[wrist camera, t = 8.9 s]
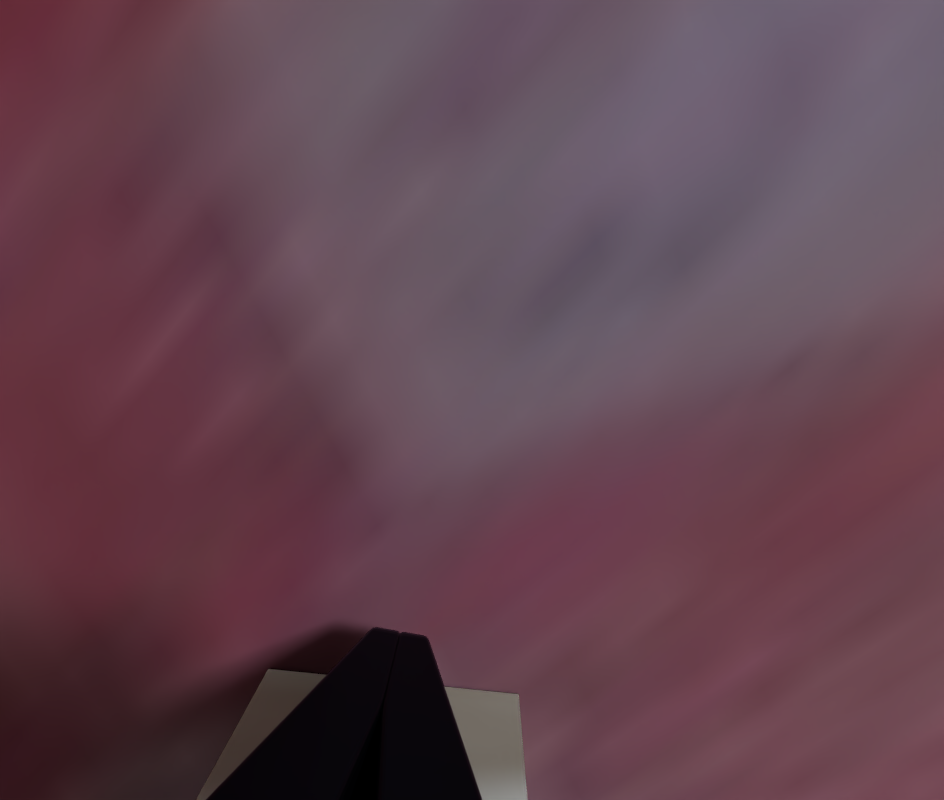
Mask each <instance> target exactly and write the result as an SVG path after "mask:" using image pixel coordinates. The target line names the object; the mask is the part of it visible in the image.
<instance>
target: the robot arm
mask: <svg viewBox="0 0 944 800" xmlns="http://www.w3.org/2000/svg"><path fill="white" fill-rule="evenodd" d="M206 800H482V797H481V794H480V791H479V788H478V785H477V782H476V779H475V776H474V773H473V770H472V767H471V764H470V761H469V758H468V755H467V752H466V749H465V746H464V743H463V740H462V737H461V734H460V731H459V728H458V725H457V722H456V719H455V716H454V714H453V711H452V708H451V705H450V702H449V699H448V696H447V693H446V690H445V687H444V684H443V681H442V678H441V675H440V672H439V669H438V666H437V663H436V660H435V657H434V654H433V651H432V648H431V645H430V642H429V640H428V638H427V637H426V636H424V635H418V634H412V633H407V632H402V633H399V632H398V631H395V630H390V629H384V628H378V627H375V628H372V629H371V630H370V631H369V632H368V633H367V634H366V635H365V636H364V637H363V638H362V639H361V640H360V641H359V642H358V643H357V644H356V645H355V646H354V647H353V648H352V649H351V650H350V651H349V652H348V653H347V654H346V655H345V656H344V657H343V658H342V659H341V660H340V662H339V663H338V664H337V665H336V666H335V667H334V668H333V669H332V670H331V671H330V672H329V673H328V674H327V675H326V676H325V677H324V678H323V679H322V680H321V681H320V682H319V683H318V684H317V685H316V686H315V687H314V688H313V689H312V690H311V691H310V692H309V693H308V695H307V696H306V697H305V698H304V699H303V700H302V701H301V702H300V703H299V704H298V705H297V706H296V707H295V708H294V709H293V710H292V711H291V712H290V713H289V714H288V715H287V716H286V717H285V718H284V719H283V720H282V721H281V722H280V723H279V724H278V725H277V727H276V728H275V729H274V730H273V731H272V732H271V733H270V734H269V735H268V736H267V737H266V738H265V739H264V740H263V741H262V742H261V743H260V744H259V745H258V746H257V747H256V748H255V749H254V750H253V751H252V752H251V753H250V754H249V755H248V756H247V757H246V758H245V760H244V761H243V762H242V763H241V764H240V765H239V766H238V767H237V768H236V769H235V770H234V771H233V772H232V773H231V774H230V775H229V776H228V777H227V778H226V779H225V780H224V781H223V782H222V783H221V784H220V785H219V786H218V787H217V788H216V789H215V790H214V792H213V793H212V794H211V795H210V796H209V797H208V798H207V799H206Z"/></svg>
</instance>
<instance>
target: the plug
mask: <svg viewBox="0 0 944 800" xmlns="http://www.w3.org/2000/svg"><path fill="white" fill-rule="evenodd" d="M325 676H326V675H324V674H314V673H304V672H294V671H284V670H274V669H268V670H267V672H266V674H265V676H264V677H263V679H262V681H261V683H260V685H259V686H258V688H257V690H256V692H255V694H254V695H253V697H252V699H251V701H250V703H249V705H248V706H247V708H246V710H245V712H244V714H243V715H242V717H241V719H240V721H239V723H238V724H237V726H236V728H235V730H234V732H233V734H232V735H231V737H230V739H229V741H228V743H227V744H226V746H225V748H224V750H223V752H222V753H221V755H220V757H219V759H218V761H217V762H216V764H215V766H214V768H213V770H212V772H211V773H210V775H209V777H208V779H207V781H206V782H205V784H204V786H203V788H202V790H201V791H200V793H199V795H198V797H197V799H196V800H206V799H207V798H208V797H209V796H210V795H211V794H212V793H213V792H214V790H215V789H216V788H217V787H218V786H219V785H220V784H221V783H222V782H223V781H224V780H225V779H226V778H227V777H228V776H229V775H230V774H231V773H232V772H233V771H234V770H235V769H236V768H237V767H238V766H239V765H240V764H241V763H242V762H243V761H244V760H245V758H246V757H247V756H248V755H249V754H250V753H251V752H252V751H253V750H254V749H255V748H256V747H257V746H258V745H259V744H260V743H261V742H262V741H263V740H264V739H265V738H266V737H267V736H268V735H269V734H270V733H271V732H272V731H273V730H274V729H275V728H276V727H277V725H278V724H279V723H280V722H281V721H282V720H283V719H284V718H285V717H286V716H287V715H288V714H289V713H290V712H291V711H292V710H293V709H294V708H295V707H296V706H297V705H298V704H299V703H300V702H301V701H302V700H303V699H304V698H305V697H306V696H307V695H308V693H309V692H310V691H311V690H312V689H313V688H314V687H315V686H316V685H317V684H318V683H319V682H320V681H321V680H322V679H323V678H324V677H325ZM445 690H446V693H447V696H448V699H449V702H450V705H451V708H452V711H453V714H454V716H455V719H456V722H457V725H458V728H459V731H460V734H461V737H462V740H463V743H464V746H465V749H466V752H467V755H468V758H469V761H470V764H471V767H472V770H473V773H474V776H475V779H476V782H477V785H478V788H479V791H480V794H481V797H482V800H527V789H526V777H525V765H524V753H523V741H522V729H521V717H520V705H519V694H512V693H502V692H492V691H482V690H472V689H462V688H453V687H445Z"/></svg>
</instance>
